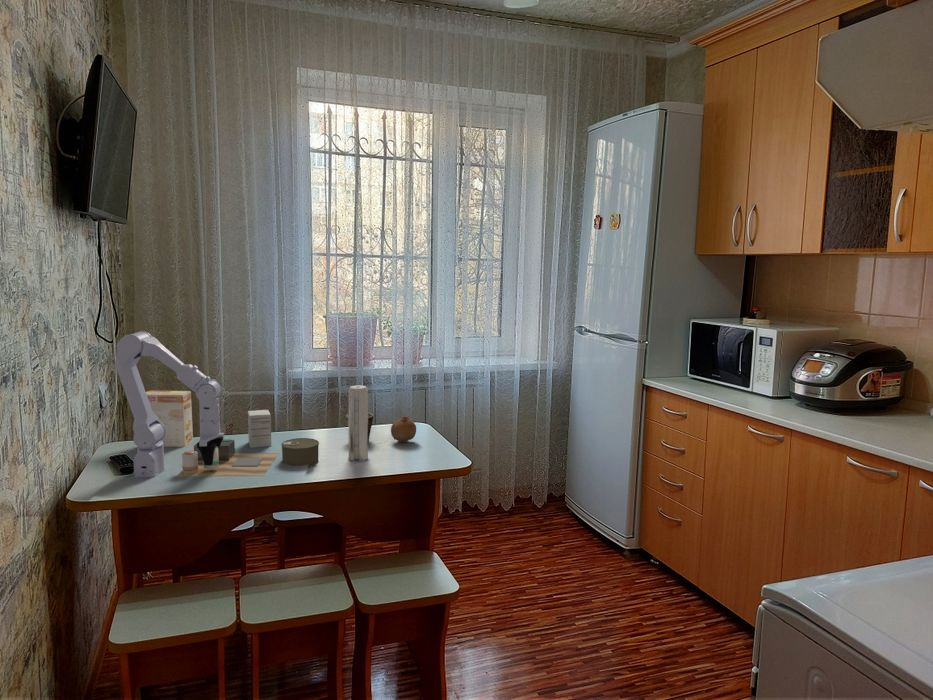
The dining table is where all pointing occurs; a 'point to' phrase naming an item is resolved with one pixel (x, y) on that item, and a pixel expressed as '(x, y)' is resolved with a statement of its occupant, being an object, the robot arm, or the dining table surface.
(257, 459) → the mat
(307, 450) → the can
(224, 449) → the box
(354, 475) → the dining table surface
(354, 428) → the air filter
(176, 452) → the dining table surface
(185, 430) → the coffeecake box
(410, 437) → the onion
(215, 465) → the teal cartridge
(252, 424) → the supplement box
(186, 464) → the cylinder
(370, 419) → the ceramic cup
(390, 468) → the dining table surface
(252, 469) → the board
